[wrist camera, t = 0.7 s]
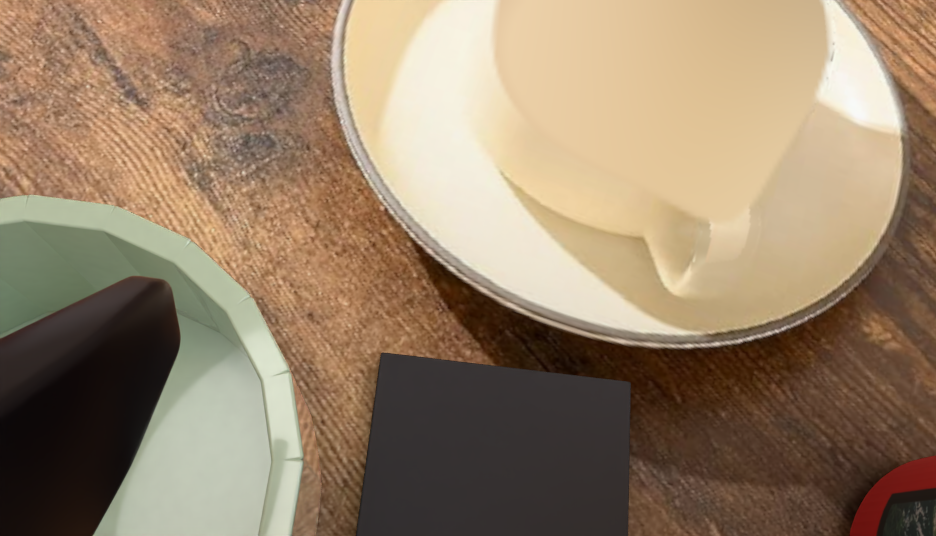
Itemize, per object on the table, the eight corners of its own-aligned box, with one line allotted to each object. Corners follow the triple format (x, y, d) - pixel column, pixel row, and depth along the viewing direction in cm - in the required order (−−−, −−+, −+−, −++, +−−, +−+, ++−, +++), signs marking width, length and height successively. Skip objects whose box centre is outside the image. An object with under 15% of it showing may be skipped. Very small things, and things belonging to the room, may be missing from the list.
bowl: (279, 771, 18) (236, 870, 12) (-224, 731, 17) (-518, 817, 11) (350, 317, 22) (341, 234, 16) (-56, 267, 21) (-213, 161, 15)
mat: (621, 658, 19) (626, 659, 19) (343, 632, 19) (342, 633, 19) (626, 384, 22) (631, 381, 22) (381, 355, 21) (381, 351, 21)
